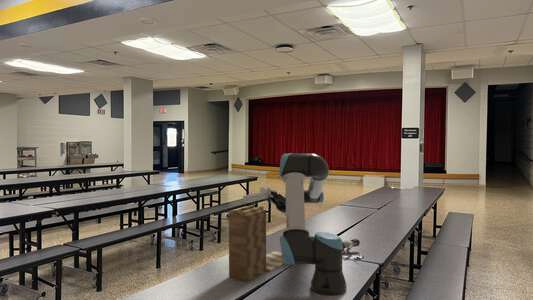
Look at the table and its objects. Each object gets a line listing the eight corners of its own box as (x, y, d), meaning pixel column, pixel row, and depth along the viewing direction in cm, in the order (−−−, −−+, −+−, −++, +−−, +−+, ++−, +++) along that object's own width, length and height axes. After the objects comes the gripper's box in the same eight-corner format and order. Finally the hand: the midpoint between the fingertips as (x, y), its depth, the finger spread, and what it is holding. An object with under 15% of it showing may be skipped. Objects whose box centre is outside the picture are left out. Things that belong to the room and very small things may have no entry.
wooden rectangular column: (249, 267, 183) (249, 204, 182) (266, 271, 177) (266, 206, 176) (229, 277, 170) (228, 210, 169) (246, 282, 164) (245, 212, 163)
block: (271, 195, 193) (271, 189, 192) (275, 195, 191) (275, 190, 191) (243, 202, 173) (243, 195, 173) (248, 202, 171) (248, 196, 171)
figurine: (302, 242, 212) (349, 231, 220) (304, 254, 212) (350, 243, 220) (318, 254, 190) (369, 242, 198) (320, 267, 191) (370, 255, 198)
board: (275, 252, 206) (275, 250, 206) (296, 256, 198) (296, 255, 198) (247, 265, 185) (247, 263, 185) (270, 271, 177) (270, 269, 177)
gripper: (295, 214, 196) (275, 198, 178) (270, 211, 205) (249, 195, 187) (299, 201, 199) (279, 184, 181) (274, 198, 208) (253, 181, 190)
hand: (264, 189), depth 184 cm, fingers closed on block, 3 cm apart
